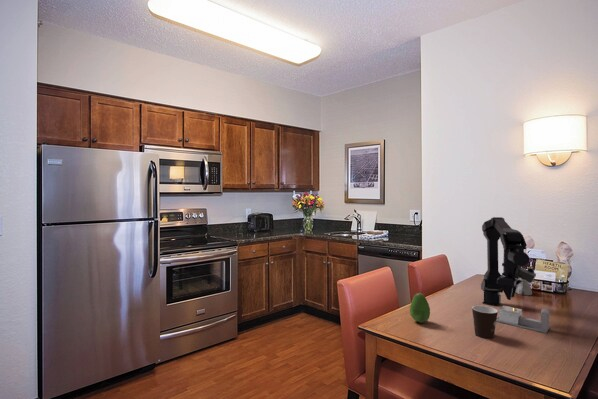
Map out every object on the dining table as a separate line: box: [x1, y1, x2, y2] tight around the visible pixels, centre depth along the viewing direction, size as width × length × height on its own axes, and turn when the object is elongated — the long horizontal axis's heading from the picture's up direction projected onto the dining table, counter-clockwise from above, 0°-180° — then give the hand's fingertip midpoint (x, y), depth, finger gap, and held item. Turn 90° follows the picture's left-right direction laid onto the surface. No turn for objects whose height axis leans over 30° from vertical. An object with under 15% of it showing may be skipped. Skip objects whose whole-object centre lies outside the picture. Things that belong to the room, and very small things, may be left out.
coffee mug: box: [471, 305, 499, 340], centre depth 133 cm, size 12×9×10 cm
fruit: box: [409, 292, 431, 324], centre depth 145 cm, size 8×8×12 cm
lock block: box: [498, 305, 523, 325], centre depth 146 cm, size 7×6×6 cm
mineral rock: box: [515, 278, 533, 296], centre depth 189 cm, size 13×11×10 cm
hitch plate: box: [496, 307, 551, 334], centre depth 143 cm, size 18×8×9 cm, turn 46°
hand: (510, 298), depth 146 cm, fingers open, 5 cm apart
